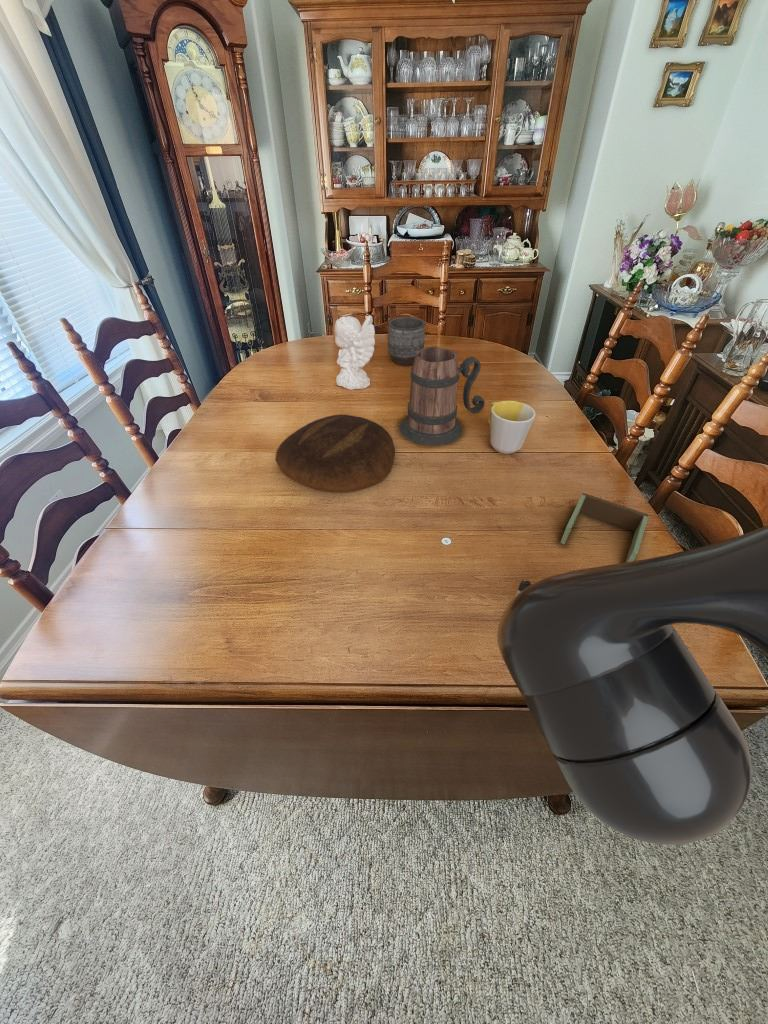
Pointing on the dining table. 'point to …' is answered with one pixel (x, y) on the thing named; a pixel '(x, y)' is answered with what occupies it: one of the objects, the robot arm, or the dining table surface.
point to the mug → (509, 425)
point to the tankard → (438, 396)
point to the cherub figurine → (354, 351)
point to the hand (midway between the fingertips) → (583, 615)
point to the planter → (405, 339)
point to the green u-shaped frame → (611, 519)
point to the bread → (337, 454)
